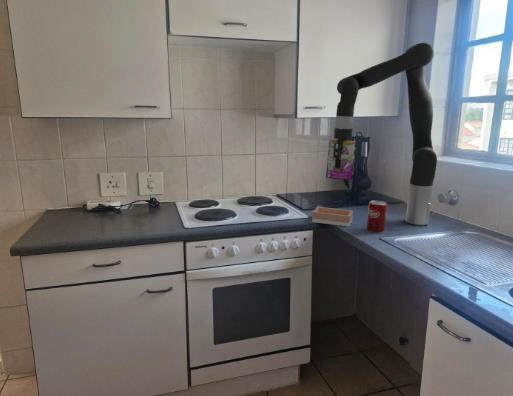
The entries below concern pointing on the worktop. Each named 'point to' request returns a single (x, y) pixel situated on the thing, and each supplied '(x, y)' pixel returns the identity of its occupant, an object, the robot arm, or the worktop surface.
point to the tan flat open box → (332, 216)
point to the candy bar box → (346, 161)
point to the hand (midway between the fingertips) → (339, 166)
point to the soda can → (376, 216)
